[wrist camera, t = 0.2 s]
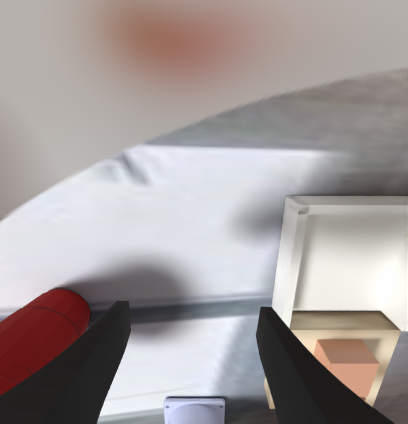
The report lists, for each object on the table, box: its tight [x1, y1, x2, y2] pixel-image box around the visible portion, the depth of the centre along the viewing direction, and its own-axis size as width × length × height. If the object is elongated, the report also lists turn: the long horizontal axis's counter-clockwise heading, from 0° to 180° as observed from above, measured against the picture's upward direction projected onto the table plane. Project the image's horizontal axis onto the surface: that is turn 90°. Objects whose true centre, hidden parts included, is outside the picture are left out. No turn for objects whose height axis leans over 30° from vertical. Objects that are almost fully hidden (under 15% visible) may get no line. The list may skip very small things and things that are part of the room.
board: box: [264, 311, 401, 409], centre depth 25 cm, size 12×12×2 cm
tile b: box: [314, 340, 380, 397], centre depth 22 cm, size 4×4×2 cm
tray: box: [272, 196, 408, 331], centre depth 21 cm, size 13×13×3 cm
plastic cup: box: [0, 289, 90, 395], centre depth 18 cm, size 11×11×12 cm
